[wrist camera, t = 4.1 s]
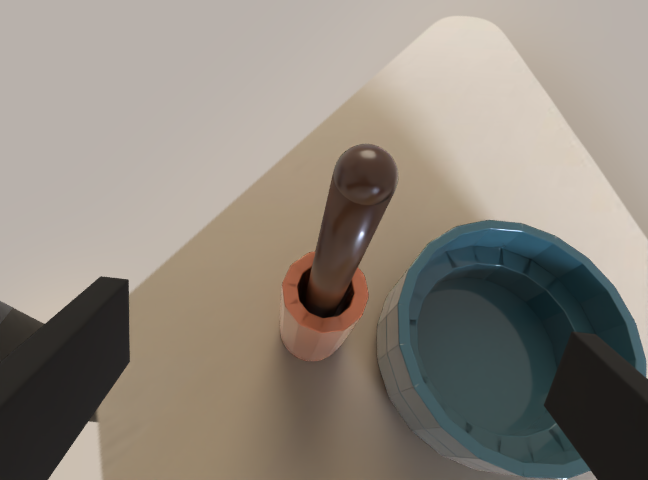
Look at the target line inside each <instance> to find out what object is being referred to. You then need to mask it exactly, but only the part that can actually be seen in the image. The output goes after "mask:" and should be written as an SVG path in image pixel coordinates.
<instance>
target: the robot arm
mask: <svg viewBox="0 0 648 480" xmlns="http://www.w3.org/2000/svg"><path fill="white" fill-rule="evenodd" d="M128 282H129V281H128V280H127V279H119V278H110V277H100V278H98V279H97V280H96V281H95V282H94V283H92V284H91V285H90V286H89V287H88V288H87V289H85V290H84V291H83V292H82V293H81V294H80V295H78V296H77V297H76V298H75V299H74V300H73V301H71V302H70V303H69V304H68V305H67V306H65V307H64V308H63V309H62V310H61V311H60V312H58V313H57V314H56V315H55V316H54V317H53V318H51V319H50V320H49V321H48V322H47V323H46V324H44V325H43V326H42V327H41V328H40V329H38V330H37V331H36V332H35V333H34V334H33V335H31V336H30V337H29V338H28V339H27V340H26V341H24V342H23V343H22V344H21V345H20V346H19V347H17V348H16V349H15V350H14V351H13V352H11V353H10V354H9V355H8V356H7V357H6V358H4V359H3V360H2V361H1V362H0V480H48V479H49V477H50V476H51V474H52V473H53V471H54V470H55V468H56V467H57V466H58V464H59V463H60V461H61V460H62V458H63V457H64V456H65V454H66V453H67V451H68V450H69V448H70V447H71V445H72V444H73V443H74V441H75V440H76V438H77V437H78V435H79V434H80V432H81V431H82V430H83V428H84V427H85V425H86V424H87V422H88V421H89V420H90V418H91V417H92V415H93V414H94V412H95V411H96V409H97V408H98V407H99V405H100V404H101V402H102V401H103V399H104V398H105V397H106V395H107V394H108V392H109V391H110V389H111V388H112V386H113V385H114V384H115V382H116V381H117V379H118V378H119V376H120V375H121V373H122V372H123V371H124V369H125V368H126V366H127V365H128V363H129V362H130V351H129V285H128V284H129V283H128ZM544 406H545V408H546V409H547V411H548V412H549V413H550V415H551V416H552V418H553V419H554V420H555V422H556V423H557V424H558V426H559V427H560V429H561V430H562V431H563V433H564V434H565V435H566V437H567V438H568V440H569V441H570V442H571V444H572V445H573V446H574V448H575V449H576V451H577V452H578V453H579V455H580V456H581V458H582V459H583V460H584V462H585V463H586V464H587V466H588V467H589V469H590V470H591V471H592V473H593V474H594V475H595V477H596V478H597V480H648V379H647V378H646V377H645V376H643V375H642V374H641V373H640V372H639V371H638V370H637V369H635V368H634V367H633V366H632V365H631V364H630V363H628V362H627V361H626V360H625V359H624V358H623V357H622V356H620V355H619V354H618V353H617V352H616V351H615V350H613V349H612V348H611V347H610V346H609V345H608V344H607V343H605V342H604V341H603V340H602V339H601V338H600V337H598V336H597V335H596V334H590V333H581V332H571V335H570V337H569V340H568V342H567V345H566V348H565V350H564V353H563V356H562V358H561V361H560V364H559V366H558V369H557V371H556V374H555V377H554V379H553V382H552V385H551V387H550V390H549V393H548V395H547V398H546V400H545V403H544Z"/></svg>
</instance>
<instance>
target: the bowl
mask: <svg viewBox="0 0 648 480" xmlns="http://www.w3.org/2000/svg"><path fill="white" fill-rule="evenodd" d="M571 332H581V333H590V334H596V335H597V336H598V337H600V338H601V339H602V340H603V341H604V342H605V343H607V344H608V345H609V346H610V347H611V348H612V349H613V350H615V351H616V352H617V353H618V354H619V355H620V356H622V357H623V358H624V359H625V360H626V361H627V362H628V363H630V364H631V365H632V366H633V367H634V368H635V369H637V370H638V371H639V372H640V373H641V374H642V375H643V376H645V377H646V358H645V354H644V351H643V347H642V344H641V340H640V336H639V333H638V329H637V325H636V323H635V321H634V319H633V317H632V315H631V314H630V312H629V310H628V308H627V307H626V305H625V303H624V301H623V300H622V298H621V296H620V294H619V293H618V291H617V289H616V288H615V286H614V285H613V284H612V283H611V282H610V281H609V280H608V279H607V278H606V277H605V275H604V274H603V273H602V272H601V271H600V270H599V269H598V268H597V267H596V266H595V265H594V264H593V263H592V261H591V260H590V259H589V258H587V257H586V256H585V255H583V254H582V253H580V252H579V251H577V250H576V249H574V248H573V247H571V246H570V245H569V244H567V243H566V242H564V241H563V240H561V239H560V238H558V237H556V236H555V235H552V234H549V233H547V232H544V231H541V230H539V229H536V228H533V227H531V226H528V225H526V224H522V223H515V222H505V221H495V220H485V221H480V222H475V223H470V224H465V225H461V226H456V227H454V228H452V229H451V230H449V231H447V232H446V233H444V234H442V235H441V236H439V237H437V238H436V239H434V240H433V241H431V242H429V243H428V244H427V245H426V247H425V248H424V249H423V251H422V252H421V253H420V254H419V256H418V257H417V258H416V259H415V261H414V262H413V263H412V264H411V266H410V267H409V268H408V270H407V271H406V272H405V273H404V275H403V276H402V277H401V279H400V280H399V281H398V282H397V284H396V285H395V286H394V288H393V289H392V290H391V291H390V293H389V294H388V295H387V297H386V300H385V303H384V306H383V309H382V312H381V316H380V319H379V322H378V325H377V360H378V365H379V368H380V371H381V374H382V377H383V381H384V384H385V387H386V390H387V393H388V396H389V398H390V400H391V401H392V403H393V404H394V406H395V407H396V409H397V410H398V412H399V413H400V415H401V416H402V418H403V419H404V421H405V422H406V424H407V425H408V427H409V428H410V429H411V431H413V432H414V433H415V434H416V435H417V436H418V437H420V438H421V439H422V440H423V441H424V442H426V443H427V444H428V445H429V446H430V447H431V448H433V449H434V450H435V451H436V452H437V453H439V454H440V455H441V456H443V457H446V458H448V459H450V460H453V461H455V462H458V463H460V464H462V465H465V466H467V467H469V468H472V469H474V470H478V471H484V472H491V473H498V474H505V475H512V476H519V477H529V478H549V479H569V478H572V477H575V476H578V475H580V474H583V473H586V472H588V471H591V470H590V469H589V467H588V466H587V464H586V463H585V462H584V460H583V459H582V458H581V456H580V455H579V453H578V452H577V451H576V449H575V448H574V446H573V445H572V444H571V442H570V441H569V440H568V438H567V437H566V435H565V434H564V433H563V431H562V430H561V429H560V427H559V426H558V424H557V423H556V422H555V420H554V419H553V418H552V416H551V415H550V413H549V412H548V411H547V409H546V408H545V406H544V403H545V400H546V398H547V395H548V393H549V390H550V387H551V385H552V382H553V379H554V377H555V374H556V371H557V369H558V366H559V364H560V361H561V358H562V356H563V353H564V350H565V348H566V345H567V342H568V340H569V337H570V335H571Z"/></svg>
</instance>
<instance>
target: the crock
mask: <svg viewBox="0 0 648 480" xmlns="http://www.w3.org/2000/svg"><path fill="white" fill-rule="evenodd" d="M314 256H315V252H309V253H307V254H306V255H304V256H303V257H301V258H300V259H298V260H297V261H295V262H294V263H293V264H292V265H291V266H290V267H289V270H288V272H287V274H286V276H285V279H284V281H283V283H282V294H281V310H280V333H281V338H282V341H283V343H284V345H285V347H286V348H287V350H288V351H289V352H290V353H291V354H292V355H294V356H295V357H297V358H299V359H301V360H304V361H320V360H323V359H326V358H327V357H329V356H331V355H332V354H333V353H334V352H335V351H336V350H337V349H338V348H339V347H340V346H341V344H342V343H343V342H344V340H345V339H346V337H347V336H348V335H349V333H350V332H351V330H352V329H353V328H354V326H355V325H356V323H357V322H358V321H359V319H360V318H361V316H362V315H363V312H364V309H365V306H366V303H367V300H368V295H369V293H368V289H367V284H366V279H365V276H364V274H363V273H362V271H361V270H360V269H359V268H358V267H357V269H356V271H355V274H354V276H353V278H352V280H351V282H350V284H349V286H348V288H347V290H346V292H345V294H344V296H343V298H342V300H341V302H340V304H339V306H338V308H337V310H336V312H335V314H334V317H327V318H321V317H319V316H316V315H314V314H311V313H309V312H308V311H307V310H306V308H305V307H304V306H303V305H304V300H305V296H306V291H307V287H308V282H309V278H310V274H311V269H312V265H313V260H314Z"/></svg>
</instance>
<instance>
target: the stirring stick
mask: <svg viewBox="0 0 648 480" xmlns="http://www.w3.org/2000/svg"><path fill="white" fill-rule="evenodd" d="M397 183H398V169H397V166H396V163H395V161H394V159H393V158H392V156H391V155H390V154H389V153H388V152H387V151H385V150H384V149H383V148H381V147H379V146H376V145H371V144H360V145H356V146H354V147H352V148H350V149H348V150H347V151H345V152H344V153H343V154H342V155H341V156H340V158H339V159H338V161H337V163H336V165H335V168H334V172H333V176H332V181H331V185H330V189H329V194H328V198H327V203H326V207H325V212H324V216H323V220H322V225H321V229H320V234H319V238H318V243H317V247H316V251H315V256H314V260H313V265H312V269H311V274H310V278H309V282H308V287H307V291H306V296H305V300H304V305H303V306H304V307H305V308H306V310H307V311H308V312H309V313H311V314H314V315H316V316H319V317H321V318H327V317H334V314H335V312H336V310H337V308H338V306H339V304H340V302H341V300H342V298H343V296H344V294H345V292H346V290H347V288H348V286H349V284H350V282H351V280H352V278H353V276H354V274H355V271H356V269H357V267H358V265H359V263H360V261H361V259H362V257H363V255H364V253H365V251H366V249H367V247H368V245H369V243H370V241H371V239H372V237H373V235H374V233H375V231H376V228H377V226H378V224H379V222H380V220H381V218H382V216H383V214H384V212H385V210H386V208H387V206H388V204H389V202H390V200H391V198H392V196H393V194H394V192H395V189H396V186H397Z"/></svg>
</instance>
